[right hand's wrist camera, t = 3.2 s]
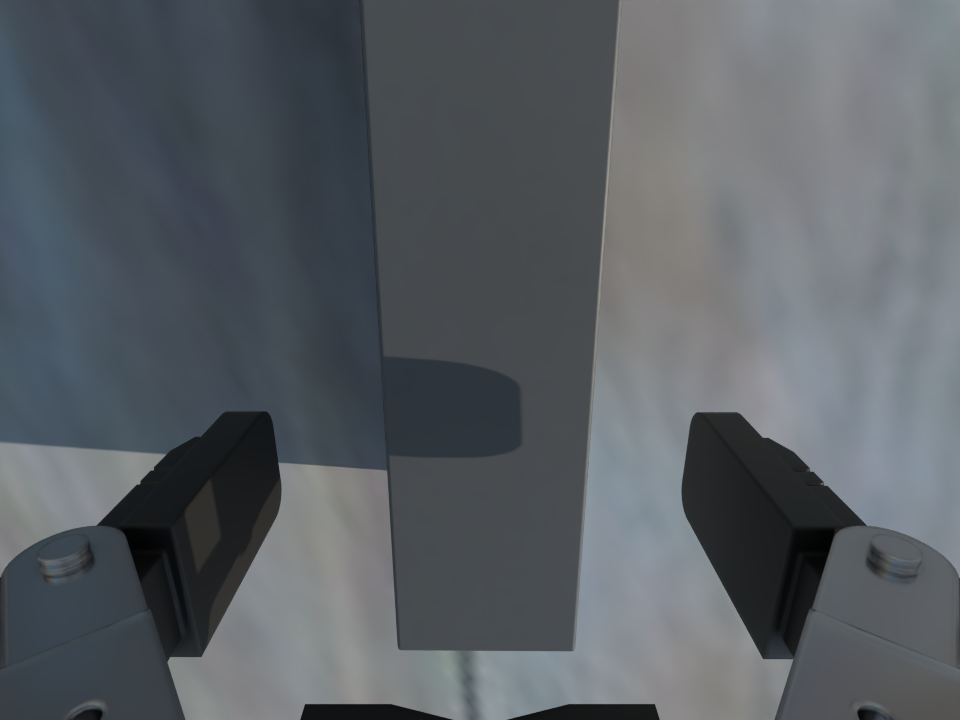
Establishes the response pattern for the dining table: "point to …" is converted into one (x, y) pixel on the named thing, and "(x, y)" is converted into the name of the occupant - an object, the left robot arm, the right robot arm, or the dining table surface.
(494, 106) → the bar
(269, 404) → the dining table surface
